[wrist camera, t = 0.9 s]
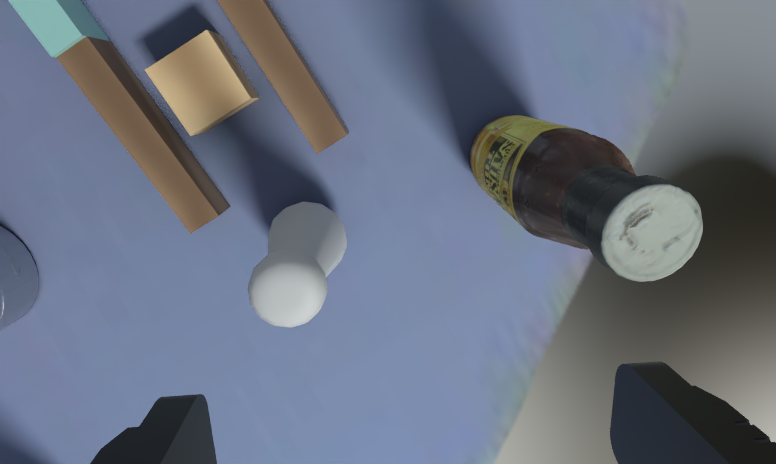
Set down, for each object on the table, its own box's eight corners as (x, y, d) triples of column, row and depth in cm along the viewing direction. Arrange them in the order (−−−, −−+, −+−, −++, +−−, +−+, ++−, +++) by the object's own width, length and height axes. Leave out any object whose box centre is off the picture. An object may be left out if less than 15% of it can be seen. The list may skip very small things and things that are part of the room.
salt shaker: (271, 261, 39) (225, 339, 26) (277, 191, 37) (230, 239, 25) (344, 269, 39) (332, 350, 27) (352, 201, 38) (344, 253, 25)
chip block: (204, 132, 36) (190, 136, 33) (163, 71, 35) (144, 69, 32) (260, 97, 36) (250, 98, 33) (220, 34, 34) (206, 29, 31)
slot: (204, 222, 38) (190, 233, 35) (82, 60, 34) (56, 57, 31) (348, 131, 36) (347, 134, 33) (237, -48, 33) (224, -62, 30)
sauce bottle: (459, 124, 36) (558, 156, 17) (540, 105, 36) (731, 116, 17) (474, 207, 38) (579, 318, 19) (552, 189, 38) (736, 283, 19)
